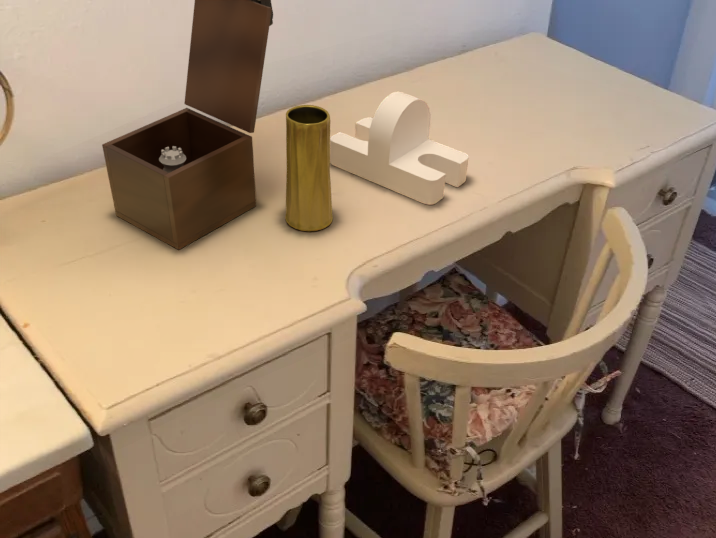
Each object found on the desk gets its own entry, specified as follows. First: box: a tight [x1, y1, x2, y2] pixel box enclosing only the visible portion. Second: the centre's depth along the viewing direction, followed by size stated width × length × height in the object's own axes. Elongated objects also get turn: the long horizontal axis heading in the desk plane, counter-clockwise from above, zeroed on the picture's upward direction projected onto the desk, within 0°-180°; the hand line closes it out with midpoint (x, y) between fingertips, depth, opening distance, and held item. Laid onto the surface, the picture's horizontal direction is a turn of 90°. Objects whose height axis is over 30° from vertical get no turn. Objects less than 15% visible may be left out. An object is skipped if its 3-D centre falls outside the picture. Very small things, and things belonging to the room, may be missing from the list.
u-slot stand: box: [330, 90, 470, 206], centre depth 114 cm, size 10×18×11 cm, turn 54°
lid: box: [184, 0, 273, 134], centre depth 101 cm, size 14×12×1 cm
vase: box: [284, 104, 334, 232], centre depth 103 cm, size 6×6×14 cm
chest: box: [101, 107, 257, 250], centre depth 105 cm, size 14×12×10 cm
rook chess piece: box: [159, 146, 186, 173], centre depth 104 cm, size 4×4×8 cm
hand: (263, 26), depth 104 cm, fingers closed
